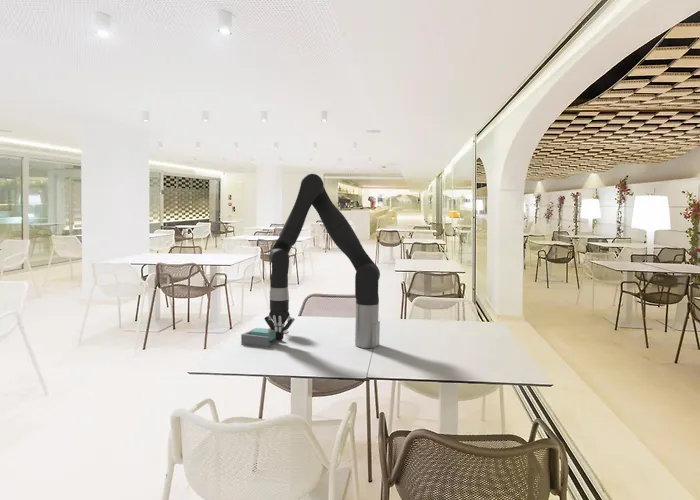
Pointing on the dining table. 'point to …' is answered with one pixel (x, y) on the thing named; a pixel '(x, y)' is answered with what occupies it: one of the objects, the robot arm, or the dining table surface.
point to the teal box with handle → (265, 333)
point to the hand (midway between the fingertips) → (279, 340)
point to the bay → (255, 340)
